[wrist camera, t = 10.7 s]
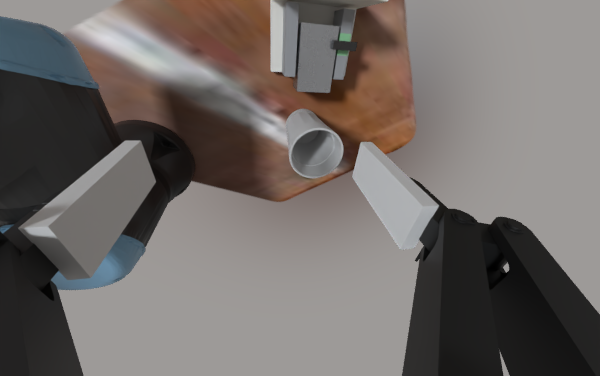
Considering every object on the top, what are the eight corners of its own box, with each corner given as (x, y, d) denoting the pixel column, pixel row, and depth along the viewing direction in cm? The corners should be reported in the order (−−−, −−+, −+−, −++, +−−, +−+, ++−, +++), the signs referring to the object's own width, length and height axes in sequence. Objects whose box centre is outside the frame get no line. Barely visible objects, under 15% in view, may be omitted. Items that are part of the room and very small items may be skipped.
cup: (326, 138, 43) (346, 169, 33) (288, 150, 43) (297, 184, 33) (318, 98, 38) (339, 120, 28) (275, 111, 38) (282, 138, 29)
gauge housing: (270, 70, 34) (275, 81, 26) (270, -15, 28) (276, -36, 20) (341, 74, 36) (367, 87, 28) (355, -4, 31) (392, -18, 22)
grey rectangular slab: (293, 85, 34) (297, 92, 31) (296, 23, 30) (302, 21, 26) (337, 88, 36) (347, 94, 32) (347, 28, 31) (360, 28, 27)
